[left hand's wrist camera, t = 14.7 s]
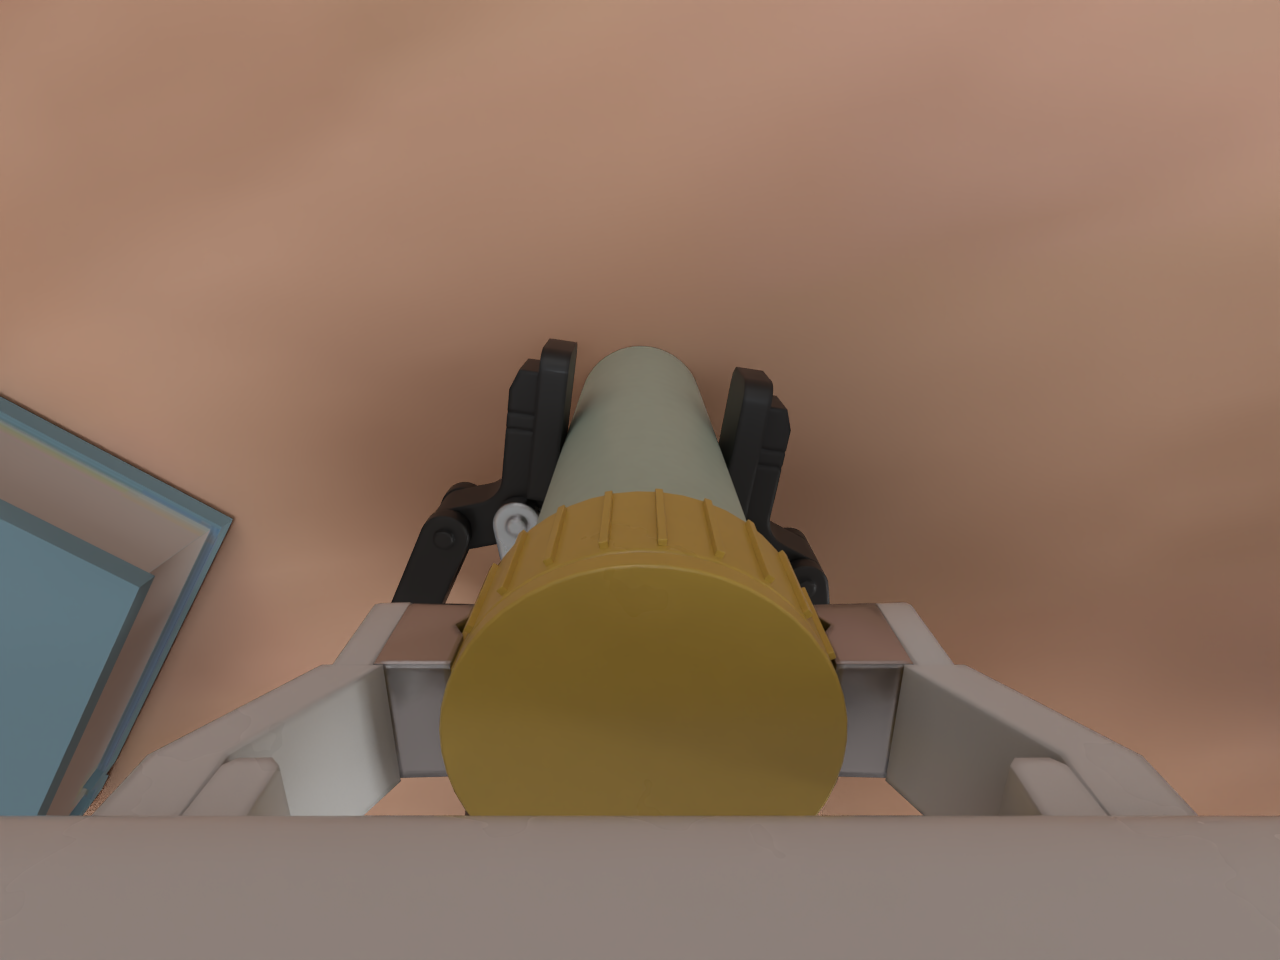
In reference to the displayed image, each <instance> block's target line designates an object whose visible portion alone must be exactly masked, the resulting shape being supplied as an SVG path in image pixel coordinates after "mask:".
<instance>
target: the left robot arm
mask: <svg viewBox="0 0 1280 960" xmlns="http://www.w3.org/2000/svg"><path fill="white" fill-rule="evenodd" d="M813 606H814V609H815V611H816V613H817V615H818V617H819V620H820V622H821V624H822V626H823V628H824V631H825V633H826V635H827V637H828V639H829V642H830V644H831V646H832V648H833V650H834V653H835V655H836V658H835V659H832V660H831V662H832V664H833V666H834V669H835V671H836V673H837V676H838V679H839V682H840V685H841V688H842V691H843V694H844V699H845V705H846V712H847V743H846V749H845V755H844V761H843V764H842V767H841V770H840V773H839V777H876V778H886V781H887V782H888V783H889V784H890V785H891V786H892V787H893V788H894V789H895V790H896V791H897V792H899V793H900V794H901V795H902V796H903V797H904V798H905V799H906V800H907V801H908V802H909V803H911V804H912V805H913V806H914V807H915V808H916V809H917V810H918V811H919V812H920V813H921V814H923V815H924V816H363V815H364V814H366V813H367V812H368V811H369V810H370V809H371V808H372V807H373V806H374V805H375V804H376V803H377V802H379V801H380V800H381V799H382V798H383V797H384V796H385V795H386V794H387V793H388V792H389V791H390V790H392V789H393V788H394V787H395V786H396V785H397V784H398V783H399V782H400V781H401V780H400V778H410V777H445V776H448V775H447V773H446V769H445V765H444V761H443V757H442V753H441V745H440V733H439V724H440V711H441V704H442V700H443V696H444V692H445V688H446V684H447V682H448V679H449V677H450V675H451V668H452V665H453V663H454V661H455V659H456V656H457V654H458V652H459V649H460V647H461V645H462V643H463V640H464V639H463V634H462V633H463V630H464V628H465V625H466V623H467V621H468V618H469V616H470V614H471V611H472V609H473V607H474V604H441V603H413V604H412V603H410V602H404V603H379V604H375V605H374V606H373V607H372V609H371V610H370V612H369V613H368V614H367V616H366V617H365V619H364V620H363V622H362V623H361V624H360V626H359V627H358V629H357V630H356V632H355V633H354V634H353V636H352V637H351V639H350V640H349V642H348V643H347V644H346V646H345V647H344V649H343V650H342V651H341V653H340V654H339V656H338V657H337V659H336V660H335V661H334V663H333V664H332V665H320V666H318V667H316V668H314V669H313V670H311V671H309V672H307V673H305V674H303V675H301V676H299V677H297V678H295V679H293V680H291V681H289V682H287V683H285V684H284V685H282V686H280V687H278V688H276V689H274V690H272V691H270V692H268V693H266V694H264V695H262V696H260V697H258V698H256V699H255V700H253V701H251V702H249V703H247V704H245V705H243V706H241V707H239V708H237V709H235V710H233V711H231V712H229V713H227V714H226V715H224V716H222V717H220V718H218V719H216V720H214V721H212V722H210V723H208V724H206V725H204V726H202V727H200V728H198V729H197V730H195V731H193V732H191V733H189V734H187V735H185V736H183V737H181V738H179V739H177V740H175V741H173V742H171V743H169V744H168V745H166V746H164V747H162V748H160V749H158V750H156V751H154V752H152V753H150V754H148V755H147V756H146V757H145V758H144V759H143V760H142V761H141V763H140V764H139V765H138V766H137V767H136V768H135V769H134V770H133V771H132V772H131V773H130V774H129V775H128V777H127V778H126V779H125V780H124V781H123V782H122V783H121V784H120V785H119V786H118V787H117V788H116V789H115V791H114V792H113V793H112V794H111V795H110V796H109V797H108V798H107V799H106V800H105V801H104V802H103V803H102V805H101V806H100V807H99V808H98V809H97V810H96V811H95V812H94V813H93V814H92V815H91V816H0V960H1280V816H1198V815H1197V814H1196V813H1195V812H1194V810H1193V809H1192V808H1191V807H1190V806H1189V805H1188V804H1187V803H1186V802H1185V801H1184V800H1183V799H1182V798H1181V797H1180V796H1179V795H1178V793H1177V792H1176V791H1175V790H1174V789H1173V788H1172V787H1171V786H1170V785H1169V784H1168V783H1167V782H1166V781H1165V780H1164V779H1163V777H1162V776H1161V775H1160V774H1159V773H1158V772H1157V771H1156V770H1155V769H1154V768H1153V767H1152V766H1151V765H1150V764H1149V763H1148V761H1147V760H1146V759H1145V758H1144V757H1143V756H1142V755H1140V754H1138V753H1136V752H1134V751H1132V750H1130V749H1128V748H1126V747H1124V746H1122V745H1120V744H1118V743H1116V742H1114V741H1112V740H1111V739H1109V738H1107V737H1105V736H1103V735H1101V734H1099V733H1097V732H1095V731H1093V730H1091V729H1089V728H1087V727H1085V726H1083V725H1081V724H1079V723H1077V722H1076V721H1074V720H1072V719H1070V718H1068V717H1066V716H1064V715H1062V714H1060V713H1058V712H1056V711H1054V710H1052V709H1050V708H1048V707H1046V706H1044V705H1042V704H1041V703H1039V702H1037V701H1035V700H1033V699H1031V698H1029V697H1027V696H1025V695H1023V694H1021V693H1019V692H1017V691H1015V690H1013V689H1011V688H1009V687H1007V686H1005V685H1004V684H1002V683H1000V682H998V681H996V680H994V679H992V678H990V677H988V676H986V675H984V674H982V673H980V672H978V671H976V670H974V669H972V668H970V667H969V666H967V665H954V663H953V662H952V660H951V659H950V658H949V656H948V655H947V654H946V652H945V651H944V649H943V648H942V647H941V645H940V644H939V643H938V641H937V640H936V638H935V637H934V636H933V634H932V633H931V631H930V630H929V629H928V627H927V626H926V625H925V623H924V622H923V620H922V619H921V618H920V616H919V615H918V614H917V612H916V611H915V609H914V608H913V607H912V605H910V604H908V603H906V602H897V603H865V604H824V605H813Z"/></svg>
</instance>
